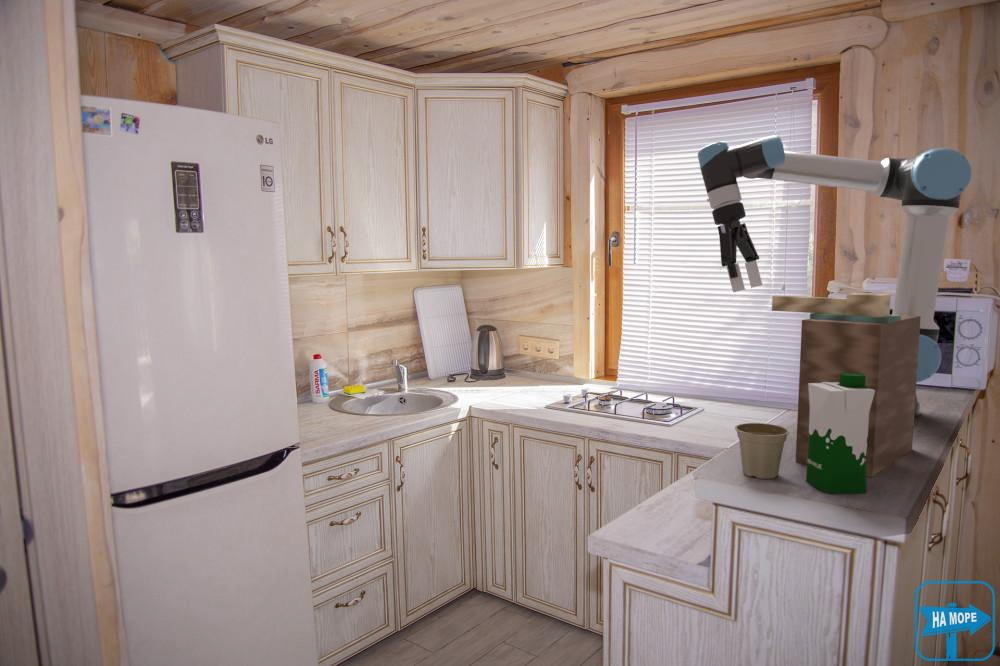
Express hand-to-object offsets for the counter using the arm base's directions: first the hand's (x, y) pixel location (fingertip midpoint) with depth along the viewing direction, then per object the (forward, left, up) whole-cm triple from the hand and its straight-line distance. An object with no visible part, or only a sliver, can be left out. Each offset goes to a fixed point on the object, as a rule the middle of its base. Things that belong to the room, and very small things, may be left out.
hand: (748, 288), depth 176 cm
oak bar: (+6, +35, -3) cm, 35 cm away
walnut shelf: (-1, +37, -32) cm, 49 cm away
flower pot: (+26, +42, -32) cm, 59 cm away
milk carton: (+18, +52, -32) cm, 64 cm away
